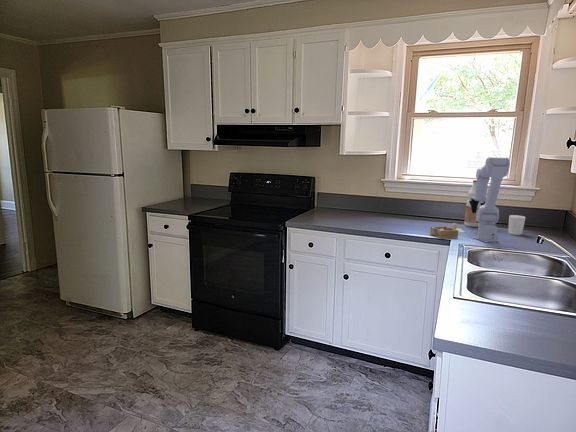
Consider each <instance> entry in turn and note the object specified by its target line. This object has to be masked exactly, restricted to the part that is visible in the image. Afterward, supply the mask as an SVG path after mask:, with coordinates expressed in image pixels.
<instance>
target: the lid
mask: <svg viewBox="0 0 576 432" xmlns="http://www.w3.org/2000/svg"><path fill="white" fill-rule="evenodd" d="M451 224H452V226H451V228H453V229H456V230H458V233H462V234H466V231H464V230H463V228H460V227H459V228H458V224H457V223H451Z"/></svg>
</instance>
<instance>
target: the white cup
mask: <svg viewBox="0 0 576 432" xmlns="http://www.w3.org/2000/svg"><path fill="white" fill-rule="evenodd" d="M508 218H509V219H508V234H509V235H514V236H522V235H523V231H524V227H525V221H526V216H524V215H517V214H510V215H509V217H508Z"/></svg>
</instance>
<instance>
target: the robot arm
mask: <svg viewBox="0 0 576 432" xmlns="http://www.w3.org/2000/svg"><path fill="white" fill-rule="evenodd" d="M510 161H511V160H510V158H509V157H493V156H492V157H490V156H488V157H487V158H486V160H485V162H484V163H485V164H484V165H483V166H482V167H481V168H477V169H476V172H475V180H477V184H476V192H475V197H474V196H470V200H471V201H469V203H470V205H471V209H472V213H476V211H477V206H478V203H479V202H483V203H480V204H481V206H480V207H479V209H478V211H477V213H476V220H477V221H478V222H479V226H478V227H477V235H476V236H473V238H474V239H475V240H476V239H477V240H479V241H481V242H484V243H495V242H499V240H498V235H499V228H498V226H496V224H497V223H498V222H499V218H500V210H499V208H498V207H497V206H496V204H497V199H498V197H499V193H500V190H501V189H500V188H501V186H502V185H501V184H502V181H503V179H504V178H505V177H507V176H508V173H509V169H510V167H511V162H510ZM488 184H489V186H488ZM480 200H481V201H480Z"/></svg>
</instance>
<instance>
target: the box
mask: <svg viewBox="0 0 576 432" xmlns="http://www.w3.org/2000/svg"><path fill="white" fill-rule="evenodd" d="M441 228H442V229H444V230H447V231H442V230H440V229H441ZM430 235H431V236H435V237H437V238H439V239H455V238H459V237H458V236H459V232H458V230H456V229H453V228H452V227H450V226H448V225H447V226H431V227H430Z"/></svg>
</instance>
